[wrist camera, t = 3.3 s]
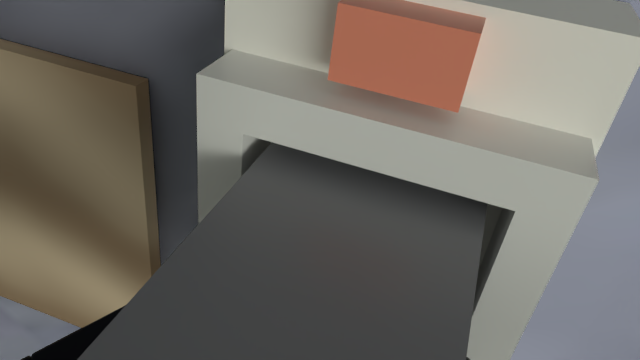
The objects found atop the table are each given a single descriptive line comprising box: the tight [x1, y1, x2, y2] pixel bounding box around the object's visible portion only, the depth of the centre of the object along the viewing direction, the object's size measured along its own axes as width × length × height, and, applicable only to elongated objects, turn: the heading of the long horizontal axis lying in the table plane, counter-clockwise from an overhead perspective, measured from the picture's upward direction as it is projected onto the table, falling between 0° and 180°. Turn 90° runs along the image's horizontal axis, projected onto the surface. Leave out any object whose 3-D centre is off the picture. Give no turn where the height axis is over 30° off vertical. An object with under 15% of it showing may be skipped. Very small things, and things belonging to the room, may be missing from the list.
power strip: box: [196, 0, 640, 360], centre depth 15 cm, size 19×8×4 cm, turn 173°
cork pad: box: [0, 39, 161, 328], centre depth 19 cm, size 12×8×1 cm, turn 173°
